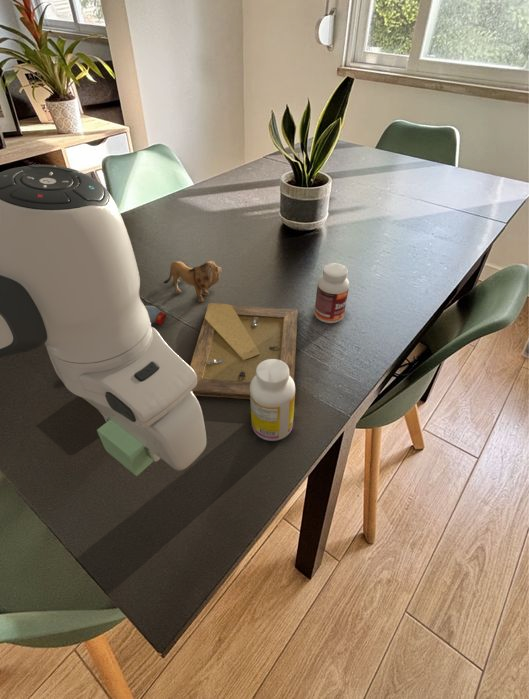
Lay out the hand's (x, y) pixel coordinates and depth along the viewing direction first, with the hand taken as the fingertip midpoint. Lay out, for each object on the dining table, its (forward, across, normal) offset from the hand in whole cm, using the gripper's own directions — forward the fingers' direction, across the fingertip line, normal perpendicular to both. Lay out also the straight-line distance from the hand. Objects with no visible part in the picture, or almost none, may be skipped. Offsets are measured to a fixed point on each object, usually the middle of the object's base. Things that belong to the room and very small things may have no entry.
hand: (136, 438), depth 49 cm
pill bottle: (+15, -3, +50) cm, 52 cm away
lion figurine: (+15, -30, +38) cm, 51 cm away
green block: (+2, 0, 0) cm, 2 cm away
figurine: (+15, -30, +24) cm, 42 cm away
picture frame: (+15, -9, +31) cm, 35 cm away
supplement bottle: (+15, +5, +20) cm, 25 cm away
